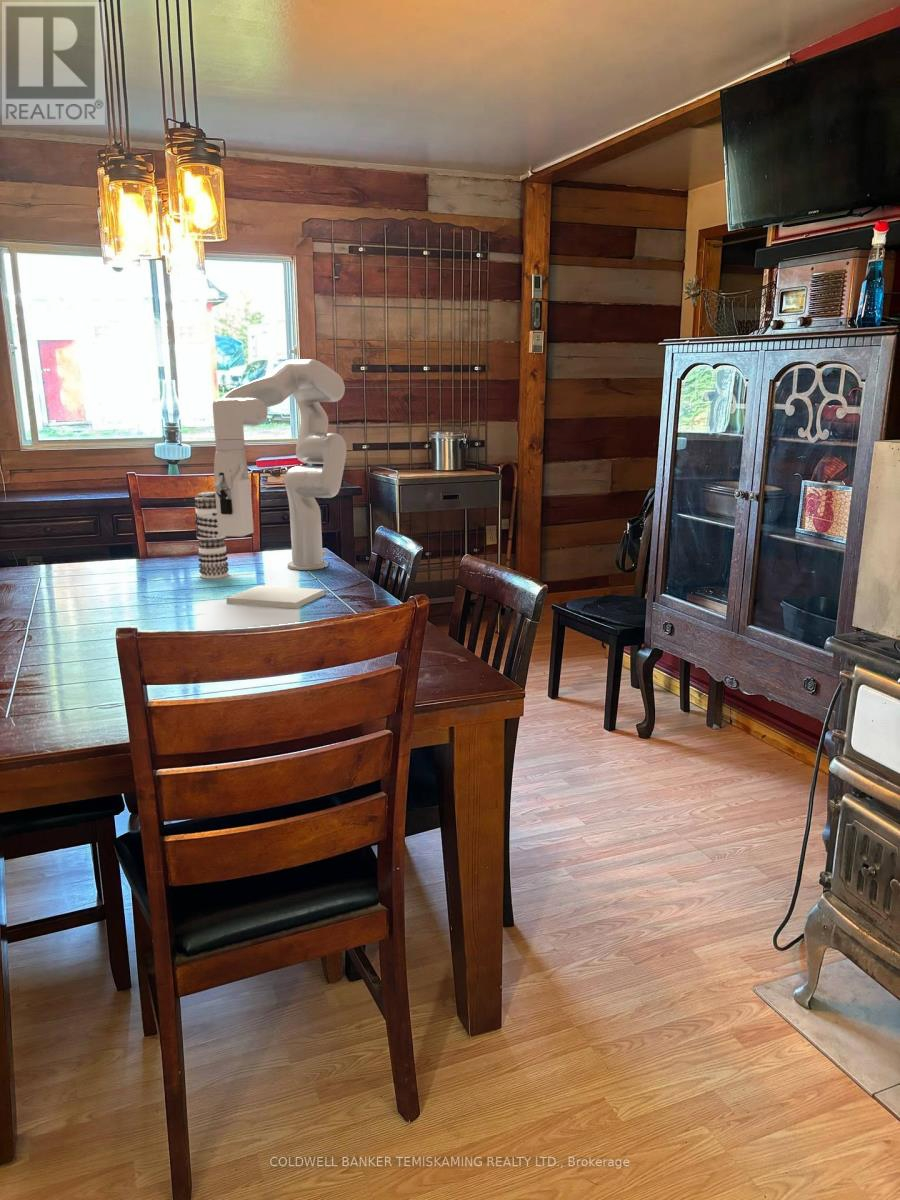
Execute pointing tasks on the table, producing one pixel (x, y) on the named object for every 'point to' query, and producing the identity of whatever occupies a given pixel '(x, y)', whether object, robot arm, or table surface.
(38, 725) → the table surface
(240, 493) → the milk carton
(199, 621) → the table surface
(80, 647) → the table surface
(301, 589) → the serving board
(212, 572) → the decorative candle
